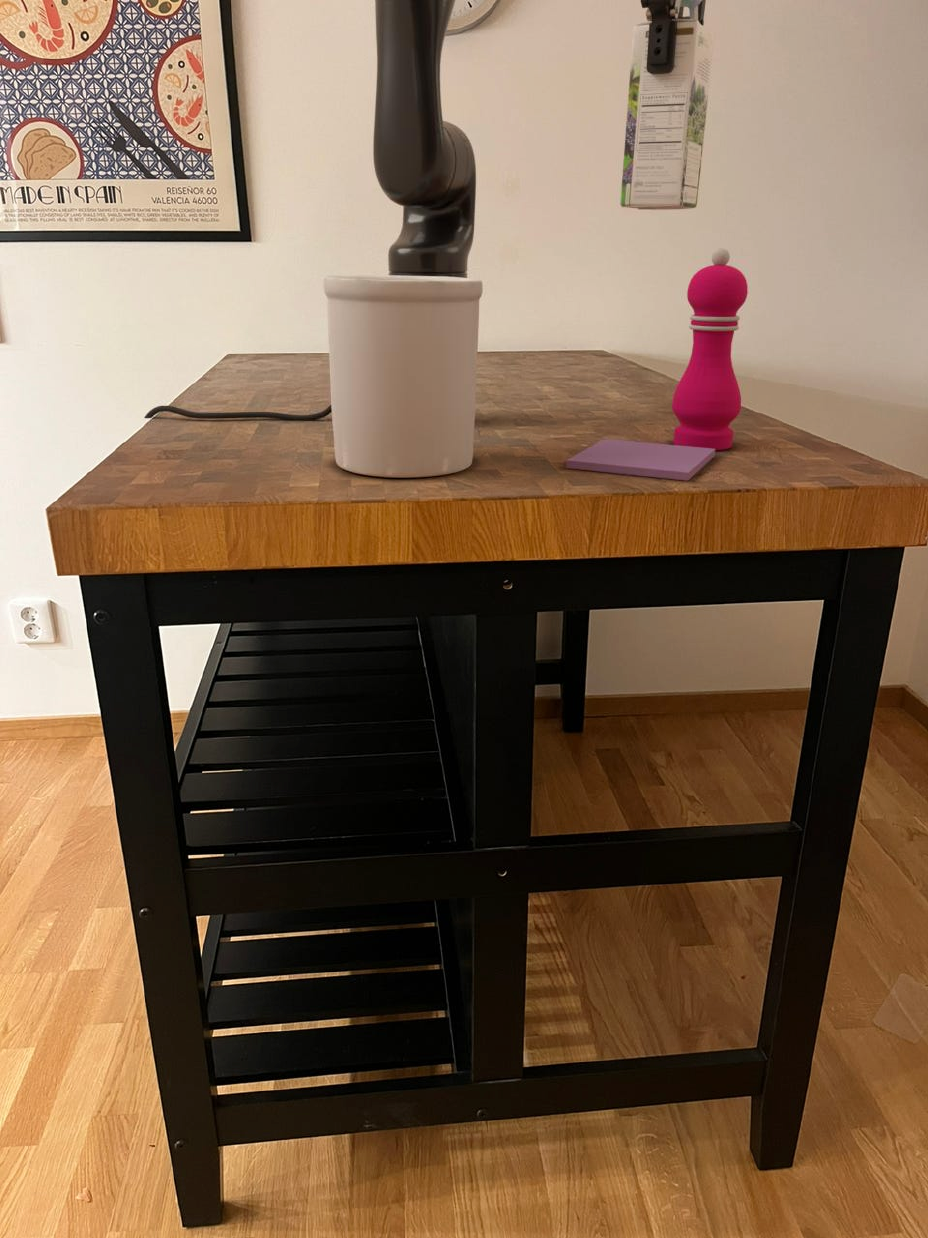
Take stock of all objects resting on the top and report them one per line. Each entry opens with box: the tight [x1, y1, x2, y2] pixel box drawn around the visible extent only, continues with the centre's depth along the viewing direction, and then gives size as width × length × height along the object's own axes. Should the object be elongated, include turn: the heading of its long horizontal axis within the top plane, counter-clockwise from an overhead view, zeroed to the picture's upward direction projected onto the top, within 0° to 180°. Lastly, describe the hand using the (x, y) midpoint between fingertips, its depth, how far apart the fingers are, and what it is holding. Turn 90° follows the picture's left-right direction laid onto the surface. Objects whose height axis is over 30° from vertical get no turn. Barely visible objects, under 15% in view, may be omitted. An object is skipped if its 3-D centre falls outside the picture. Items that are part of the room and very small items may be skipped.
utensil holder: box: [322, 274, 483, 479], centre depth 89 cm, size 15×15×18 cm
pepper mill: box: [671, 247, 749, 452], centre depth 98 cm, size 7×7×20 cm
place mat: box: [565, 438, 716, 482], centre depth 93 cm, size 12×12×1 cm
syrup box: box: [619, 19, 715, 211], centre depth 83 cm, size 6×6×14 cm
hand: (668, 77), depth 82 cm, fingers closed on syrup box, 5 cm apart
